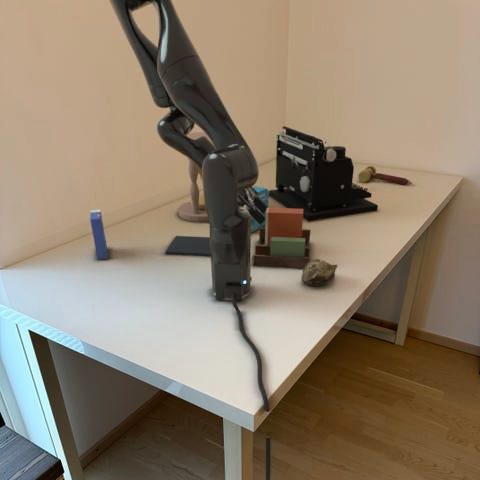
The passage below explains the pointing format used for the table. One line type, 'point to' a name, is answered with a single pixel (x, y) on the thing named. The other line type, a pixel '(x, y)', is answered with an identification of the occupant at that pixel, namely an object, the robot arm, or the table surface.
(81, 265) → the table surface
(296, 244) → the paperback
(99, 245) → the walkman
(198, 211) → the hourglass
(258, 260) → the book rack
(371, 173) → the gavel
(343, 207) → the typewriter
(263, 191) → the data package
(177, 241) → the slate mat
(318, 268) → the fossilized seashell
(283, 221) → the book
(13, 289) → the table surface
